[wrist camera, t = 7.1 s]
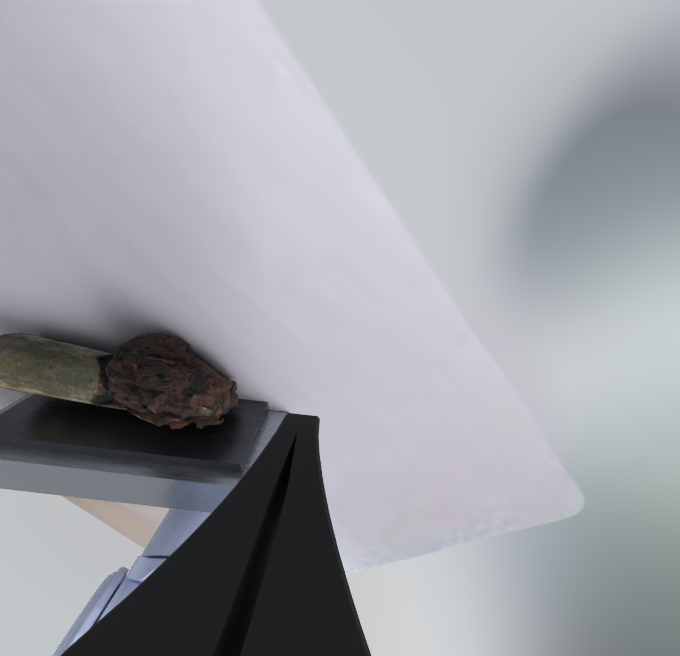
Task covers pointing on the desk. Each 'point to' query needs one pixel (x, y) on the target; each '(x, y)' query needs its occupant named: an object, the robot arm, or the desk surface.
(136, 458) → the grey metal tray
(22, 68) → the desk surface
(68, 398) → the corroded crusty cylinder
